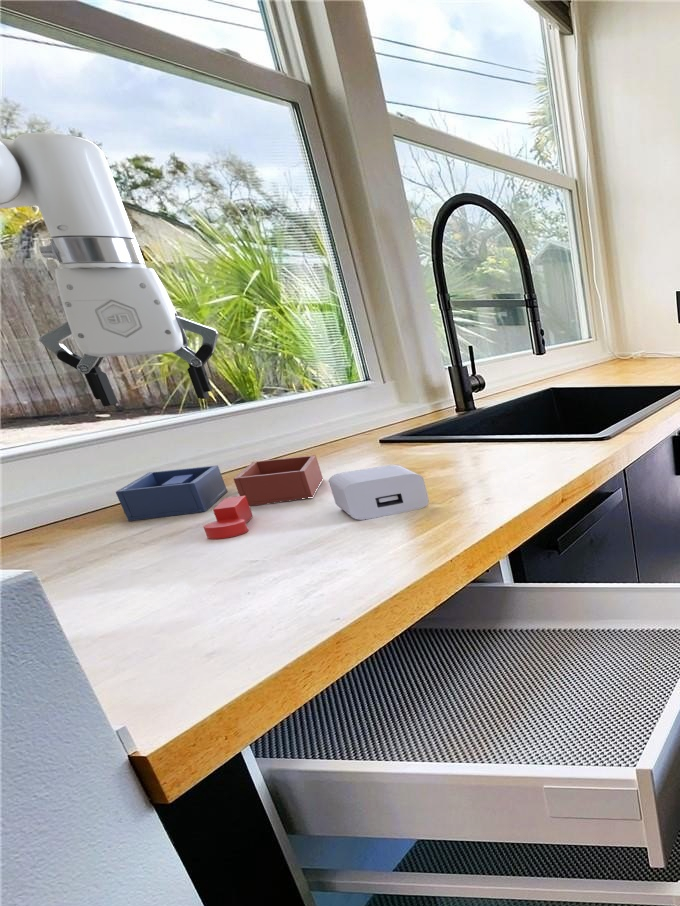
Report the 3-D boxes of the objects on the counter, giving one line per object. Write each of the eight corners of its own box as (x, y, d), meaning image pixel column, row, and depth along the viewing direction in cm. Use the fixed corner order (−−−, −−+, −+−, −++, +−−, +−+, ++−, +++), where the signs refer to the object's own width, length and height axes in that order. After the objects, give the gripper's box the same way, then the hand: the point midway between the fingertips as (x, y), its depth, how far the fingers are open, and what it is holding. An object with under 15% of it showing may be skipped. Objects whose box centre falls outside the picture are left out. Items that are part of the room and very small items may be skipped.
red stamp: (244, 535, 83) (236, 513, 82) (203, 541, 82) (194, 518, 80) (261, 515, 92) (253, 494, 90) (224, 519, 90) (216, 499, 89)
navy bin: (128, 521, 91) (115, 491, 89) (159, 499, 102) (148, 472, 100) (205, 511, 94) (194, 482, 93) (227, 491, 105) (218, 465, 103)
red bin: (243, 506, 96) (233, 478, 94) (261, 487, 107) (252, 461, 105) (312, 498, 99) (304, 470, 98) (323, 480, 110) (315, 455, 108)
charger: (398, 489, 103) (430, 506, 93) (327, 501, 97) (353, 522, 87) (390, 457, 101) (421, 472, 91) (316, 468, 95) (342, 485, 85)
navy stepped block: (188, 507, 94) (180, 487, 93) (151, 512, 93) (143, 492, 92) (207, 491, 103) (200, 473, 102) (174, 495, 101) (166, 477, 100)
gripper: (-12, 254, 77) (59, 411, 84) (183, 253, 84) (233, 398, 91) (18, 259, 83) (82, 405, 90) (197, 258, 91) (244, 393, 97)
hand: (158, 401), depth 91 cm, fingers open, 9 cm apart
